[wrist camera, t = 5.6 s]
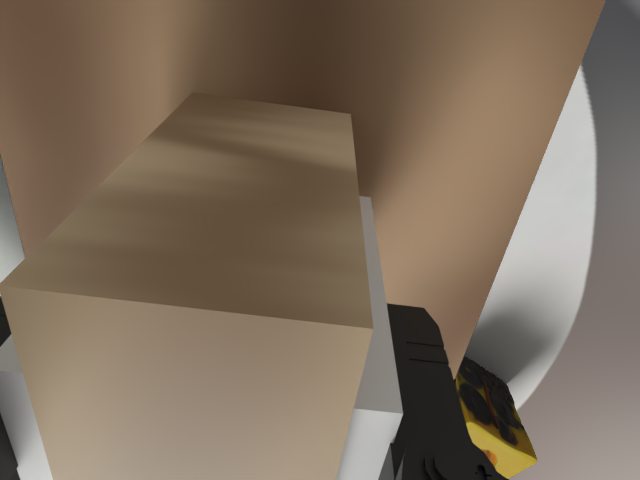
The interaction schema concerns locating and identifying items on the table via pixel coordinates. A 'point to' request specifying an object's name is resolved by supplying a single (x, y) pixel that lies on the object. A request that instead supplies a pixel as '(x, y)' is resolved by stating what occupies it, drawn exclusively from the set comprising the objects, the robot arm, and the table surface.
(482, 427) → the candle
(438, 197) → the wooden side table
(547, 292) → the table surface
